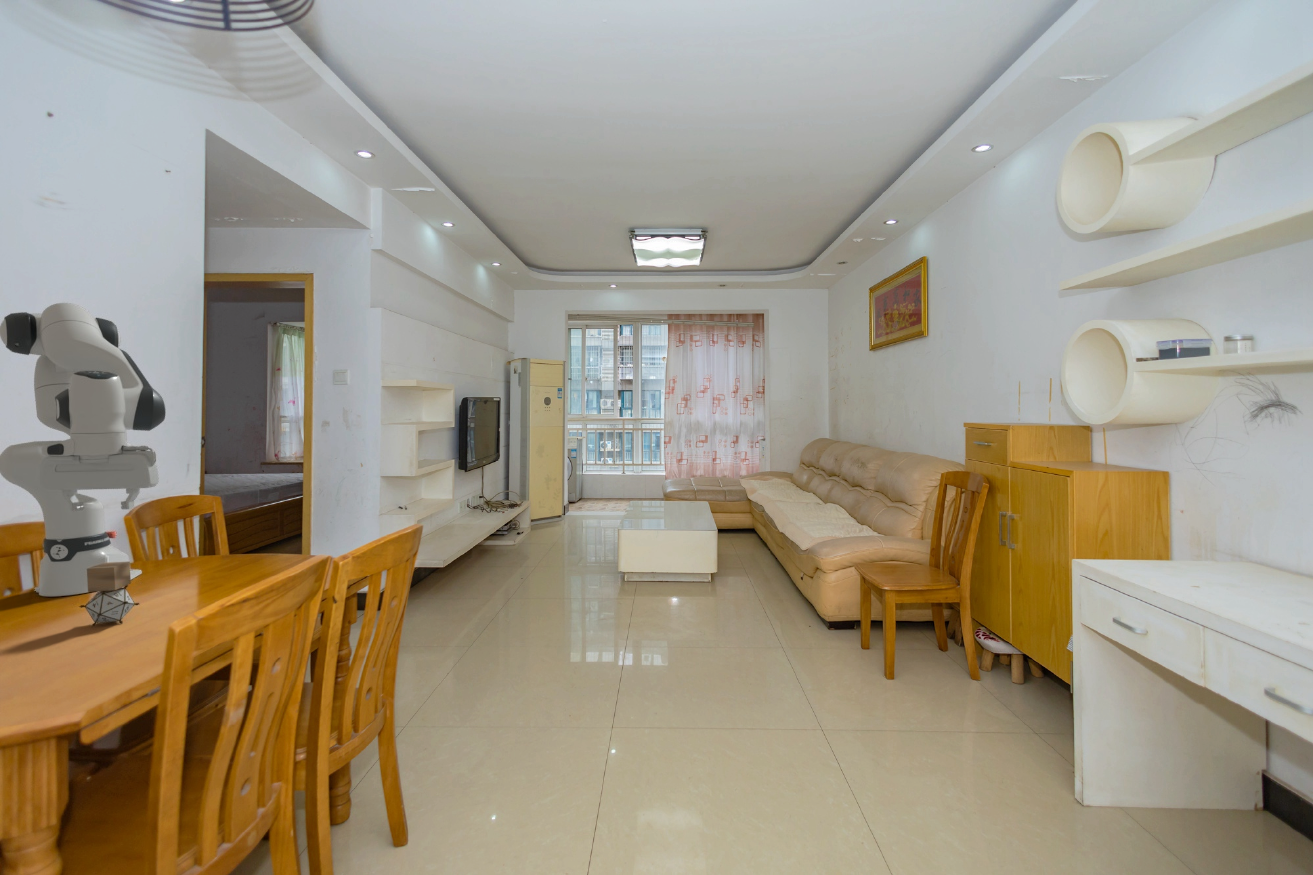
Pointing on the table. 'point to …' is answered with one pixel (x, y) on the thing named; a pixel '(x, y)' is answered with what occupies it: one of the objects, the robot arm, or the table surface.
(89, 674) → the table surface
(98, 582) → the walnut cube
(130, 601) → the game die
